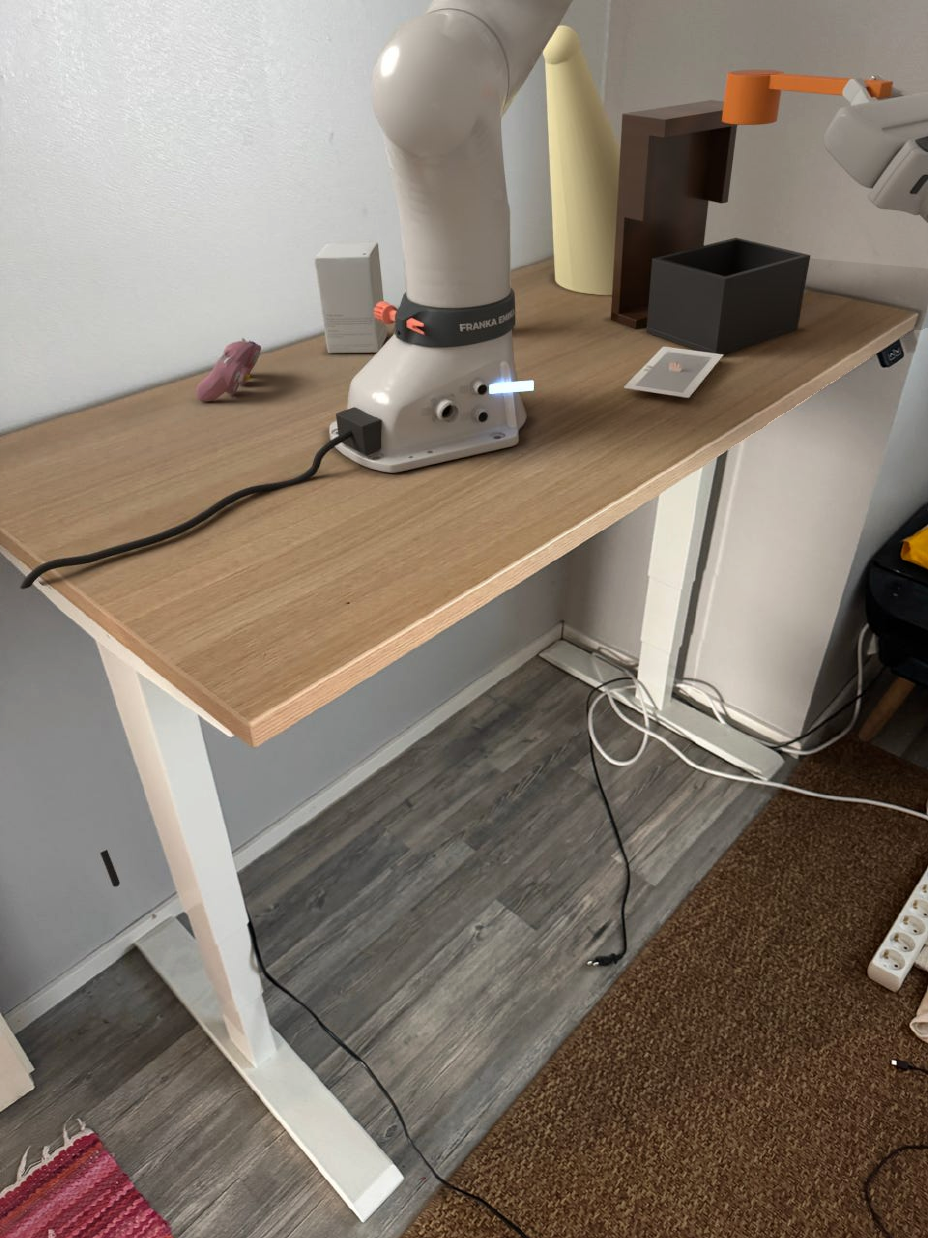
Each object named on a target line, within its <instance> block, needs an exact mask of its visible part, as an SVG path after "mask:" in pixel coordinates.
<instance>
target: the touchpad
mask: <svg viewBox="0 0 928 1238" xmlns="http://www.w3.org/2000/svg"><path fill="white" fill-rule="evenodd" d="M723 357H724V355H723V354H715V353H708V352H700V351H697V350H694V349H685V348H678V347H670V346H662V347H661V348H660V349H659V350H658V351H657V352H656V353H655V354H654V355H653V356H652V357H651V358H650V359H649V360H648V362H647V363H645V364H644V365H643V367H642V368H641V369H640V370H639V371H638V372H636V374H635V375H634V376H633V377H632V378H631V379H630V380H629V381H628V382H626V384H625V385H624V386H623V389H627V390H628V389H629V390H634V391H641V392H647V393H654V394H661V395H668V396H672V397H680V398H687V399H690V398H691V396H692V394H694V392H695V391H696V390H697V389H698V387H699V386H700V385H701V383H703V381H704V380H705V379H706V378H707V376H708V375H709V373H710V372H711V371H713V369H714V367H715V366H717V364H718V363H719V361H720V360H721V359H722V358H723Z"/></svg>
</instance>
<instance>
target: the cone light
mask: <svg viewBox="0 0 928 1238" xmlns="http://www.w3.org/2000/svg"><path fill="white" fill-rule="evenodd" d="M580 39H581V38H580V36H579V34H578V33H577V32H576V30H575V29H573V27H570V26H568V25H564V24H563V25H562V24H561V25H558V27H557V29H556V30H555V32H554V34H553V35H552V37H551V39H550V40H549V42H548V44H547V45H546V47H545V49H544V50H543V52H542V56H543V58H544V63H545V65H544V66H545V85H546V86H545V87H546V109H547V131H548V132H547V133H548V153H549V154H548V155H549V174H550V175H549V177H550V198H551V199H550V200H551V219H552V220H551V221H552V222H551V223H552V243H553V263H554V264H553V266H554V281H555V283H556V284H557V285H558V286H559V287H562V288H564V289H566V290H569V291H572V292H577V293H582V294H587V295H588V294H589V295H596V296H597V295H599V296H612V286H613V269H614V251H615V234H616V216H617V199H618V181H619V164H620V146H619V143H618V140H617V138H616V135H615V133H614V130H613V127H612V125H611V123H610V120H609V117H608V114H607V112H606V109H605V107H604V104H603V102H602V99H601V96H600V94H599V91H598V88H597V86H596V84H595V81H594V79H593V76H592V73H591V70H590V68H589V65H588V62H587V61H586V57H585V55H584V52H583V49H582V46H581V45H582V44H581V40H580Z"/></svg>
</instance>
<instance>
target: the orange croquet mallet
mask: <svg viewBox="0 0 928 1238" xmlns="http://www.w3.org/2000/svg"><path fill="white" fill-rule="evenodd" d="M850 79H853V77H852V78H849V77H836V76H823V75H822V76H821V75H808V74H796V73H795V74H793V73H785V72H784V71H782V70H776V69H742V70H733V71H729V72H727V73H726V80H725V89H724V97H723V101H724V106H723V115H722V122H724V123H728V124H736V125H737V126H760V125H770V124H773V123H777V121H778V118H779V117H778V116H779V110H780V102H781V95H782V91H784V92H785V91H786V92H795V93H796V92H797V93H799V92H800V93H809V94H821V95H831V96H832V95H833V96H843V95H842V91H843V89H844V87H845V86H846V84H847V82H848V81H849V80H850ZM862 79H863V80H864V82H866V83H867V84H868V85H869V86H870V87H869V89H868V90H867V91H868V93H869V94H870V96H871V98H872V97H876V98H877V99H879V98H885V97H890V95H891V90H892V85H893V84H894V81H892V80H887V81H880V80H867V79H865V78H862ZM843 97H844V96H843Z"/></svg>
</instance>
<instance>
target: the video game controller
mask: <svg viewBox="0 0 928 1238" xmlns="http://www.w3.org/2000/svg"><path fill="white" fill-rule="evenodd" d="M261 351H262V346H261V345H259V344H258V343H256V342H254V341H253V340H252V341H251V340H246V339H245V338H244V337H242V338H241V340H237V341H234V342H231V343H229V344H227V346H225V348H224V350H223V353H222V355H221V356H220V357H219V358H218V360H217V362H216V363H215V364H214V366H213V368H212V370H211V371H210V372H209V373H208V375H207V376H206V377H204V378H203V379H202V380H201V381H199V383H198V385H197V387H196V388H195V395H196V397H197V399H198V400H199V401H201V402H204V403H207V402H211V401H215V400H216V399H218V398H220V397H221V396H222V395H223V394H224V393H227V394H229V395H231V396H233V395H235V393H236V392H237V390H238V388H239V386H240V385H241V386H244V385H245V384H246V383H247V382H248V381H249V380H250V378H251V376H250V374H251V373H252V370H253V369H254V367H255V365H256V364H257V362H258V360H259V358H260V355H261Z"/></svg>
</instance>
